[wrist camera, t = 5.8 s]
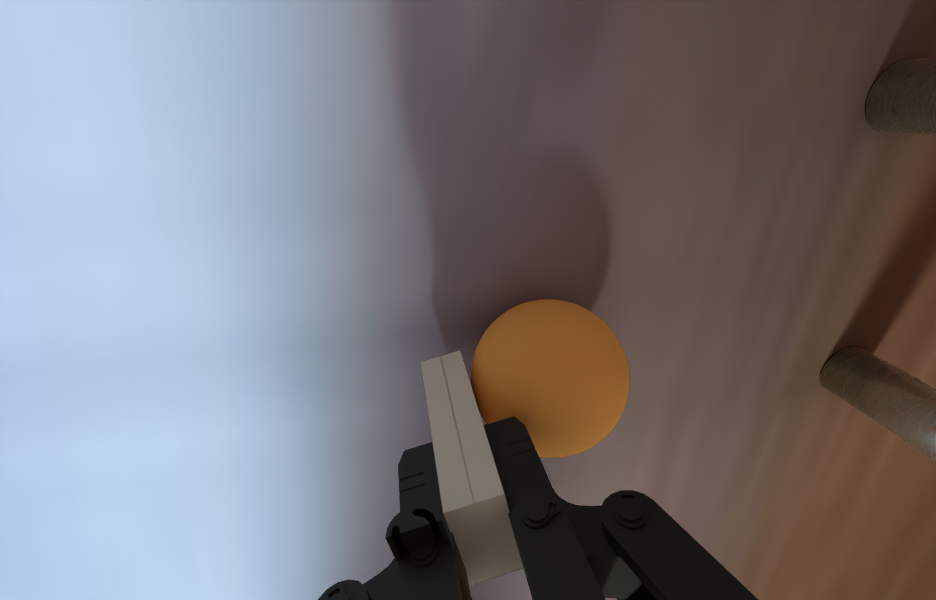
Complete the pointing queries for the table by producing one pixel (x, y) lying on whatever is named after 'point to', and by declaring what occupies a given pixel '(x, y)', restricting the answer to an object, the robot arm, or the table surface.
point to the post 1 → (904, 98)
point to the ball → (552, 375)
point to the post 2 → (885, 395)
